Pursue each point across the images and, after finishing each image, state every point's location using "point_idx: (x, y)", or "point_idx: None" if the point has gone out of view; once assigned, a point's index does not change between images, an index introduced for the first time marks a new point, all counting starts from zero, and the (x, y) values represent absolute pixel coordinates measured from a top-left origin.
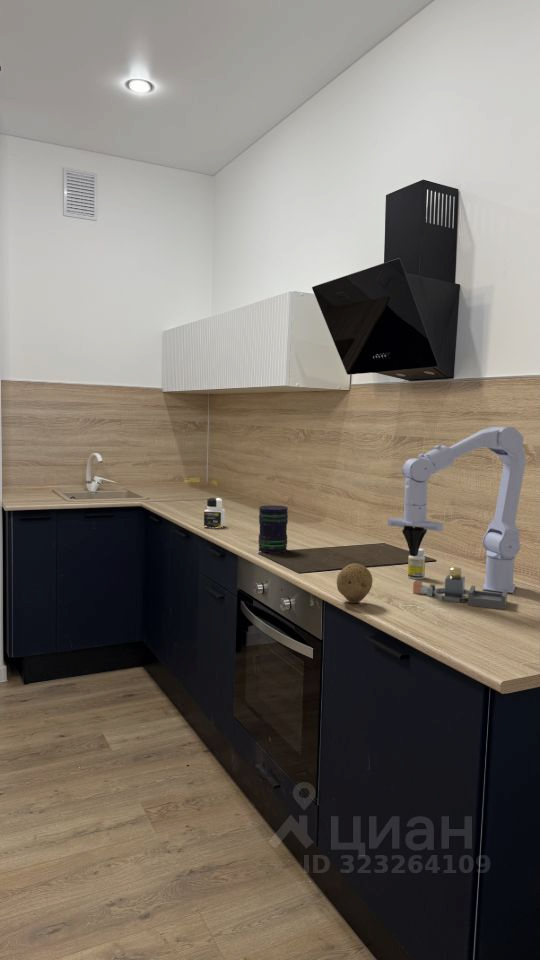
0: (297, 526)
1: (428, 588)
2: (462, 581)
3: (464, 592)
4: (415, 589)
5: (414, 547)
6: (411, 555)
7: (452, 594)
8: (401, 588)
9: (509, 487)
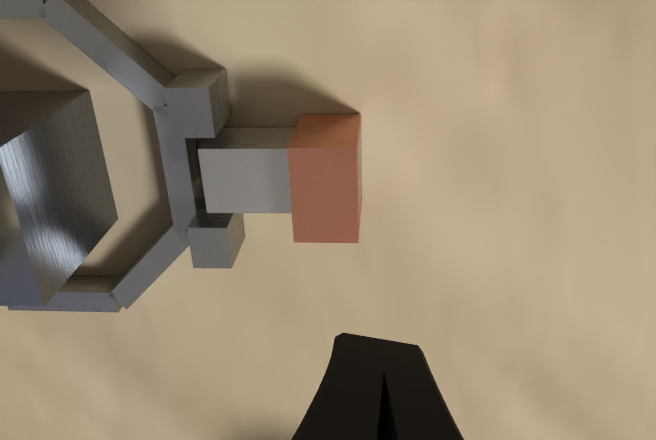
0: None
1: (201, 96)
2: None
3: None
4: (338, 126)
5: (329, 430)
6: (395, 345)
7: (7, 100)
8: (482, 230)
9: None
